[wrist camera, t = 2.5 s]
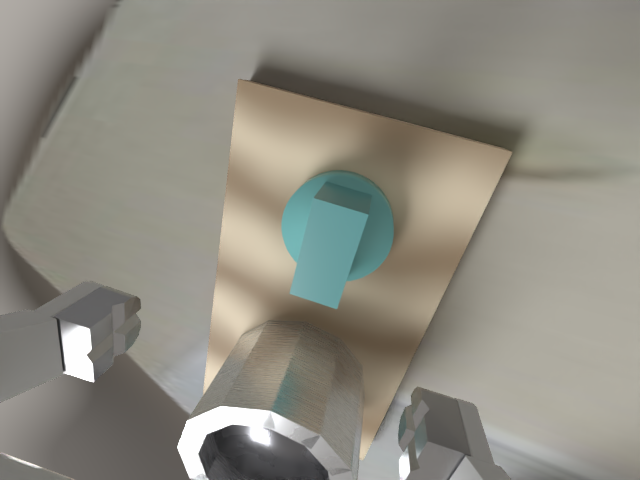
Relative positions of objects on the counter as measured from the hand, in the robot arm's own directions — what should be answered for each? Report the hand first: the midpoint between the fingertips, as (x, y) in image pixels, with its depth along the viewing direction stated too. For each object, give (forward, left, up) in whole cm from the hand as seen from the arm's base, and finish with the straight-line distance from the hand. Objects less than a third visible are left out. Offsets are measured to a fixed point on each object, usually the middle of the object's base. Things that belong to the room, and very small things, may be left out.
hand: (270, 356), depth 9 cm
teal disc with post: (-1, 0, -11) cm, 11 cm away
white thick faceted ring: (+9, +8, -11) cm, 16 cm away
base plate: (+4, +4, -12) cm, 14 cm away
